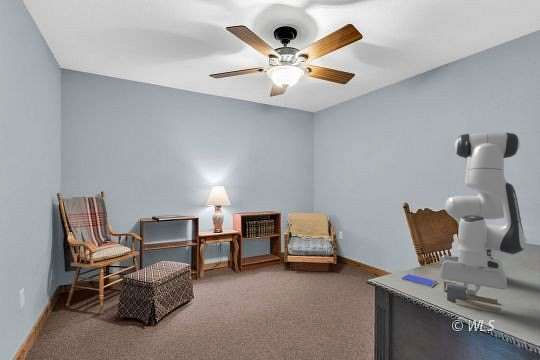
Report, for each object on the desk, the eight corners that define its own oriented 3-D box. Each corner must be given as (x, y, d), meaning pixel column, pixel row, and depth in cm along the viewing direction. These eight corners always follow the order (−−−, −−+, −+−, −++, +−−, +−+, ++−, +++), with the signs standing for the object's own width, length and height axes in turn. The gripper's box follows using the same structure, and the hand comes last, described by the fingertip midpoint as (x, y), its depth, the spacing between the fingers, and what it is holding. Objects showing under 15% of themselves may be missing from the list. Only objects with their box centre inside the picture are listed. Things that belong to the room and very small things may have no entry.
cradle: (444, 289, 117) (444, 279, 117) (496, 299, 107) (496, 288, 107) (442, 301, 105) (442, 290, 105) (500, 313, 96) (501, 301, 96)
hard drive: (437, 280, 125) (408, 273, 134) (431, 285, 119) (401, 277, 128) (437, 284, 125) (408, 277, 134) (431, 288, 119) (401, 280, 128)
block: (447, 294, 112) (447, 282, 112) (465, 298, 108) (465, 285, 108) (447, 300, 106) (447, 287, 107) (466, 304, 103) (466, 290, 103)
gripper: (439, 256, 108) (439, 291, 108) (508, 265, 97) (507, 305, 97) (440, 252, 113) (439, 286, 113) (505, 261, 102) (504, 298, 102)
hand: (471, 295), depth 105 cm, fingers closed
